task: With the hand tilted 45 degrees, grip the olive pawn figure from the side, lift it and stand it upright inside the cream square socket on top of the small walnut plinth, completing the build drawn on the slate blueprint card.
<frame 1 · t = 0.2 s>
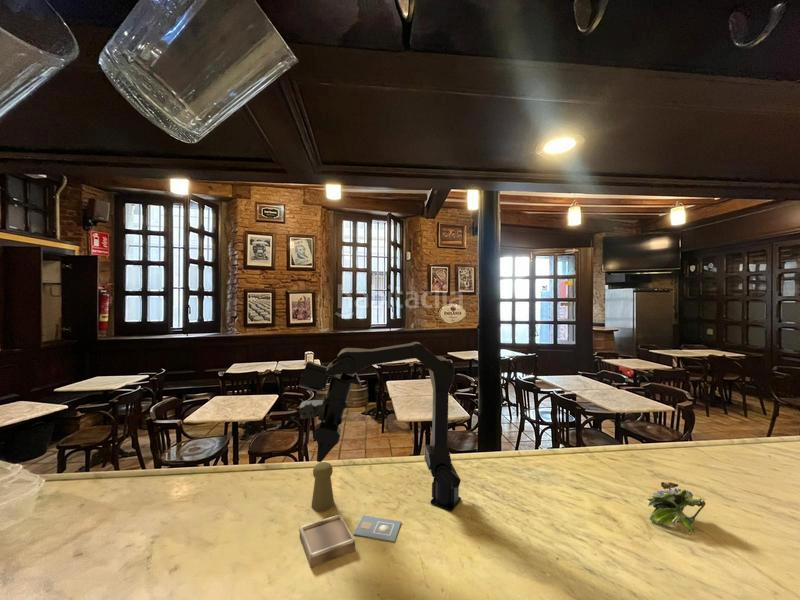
hand: (320, 452, 91), 15 cm above the countertop, tool tilted 15°, fingers open, 9 cm apart
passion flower: (676, 525, 87), on the countertop
walnut plinth: (326, 544, 80), on the countertop
blueprint card: (377, 528, 85), on the countertop
olive pawn figure: (322, 505, 94), on the countertop
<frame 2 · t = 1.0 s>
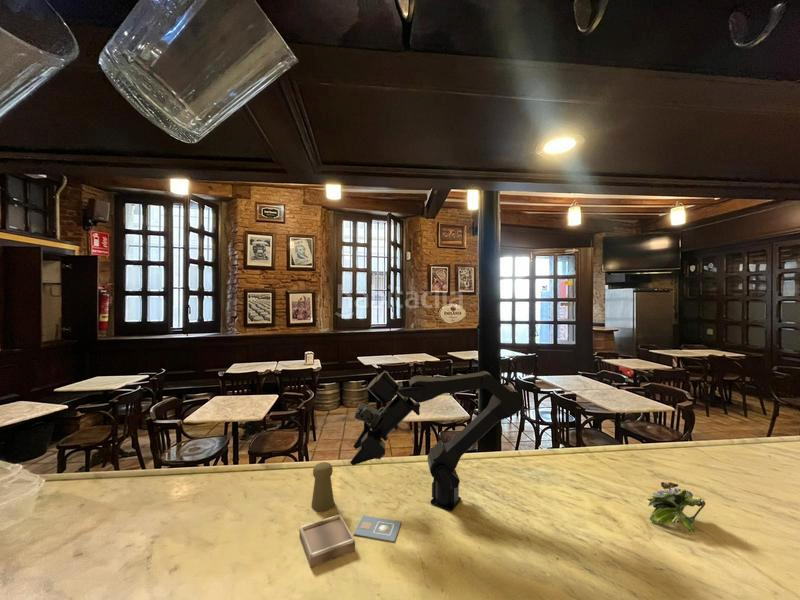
hand: (353, 455, 94), 13 cm above the countertop, tool tilted 45°, fingers open, 9 cm apart
nothing on the countertop moved.
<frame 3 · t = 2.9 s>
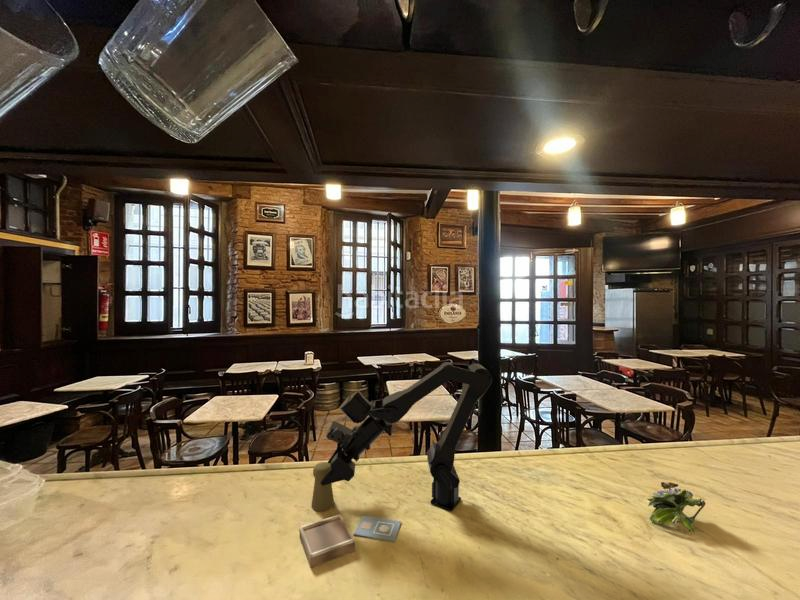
hand: (324, 474, 94), 8 cm above the countertop, tool tilted 45°, fingers open, 9 cm apart
nothing on the countertop moved.
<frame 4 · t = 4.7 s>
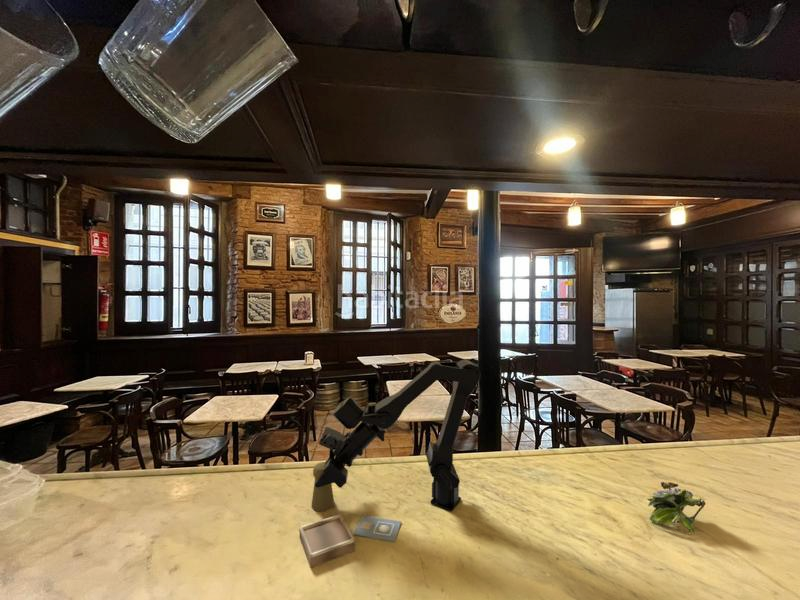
hand: (317, 480, 94), 7 cm above the countertop, tool tilted 45°, fingers closed on olive pawn figure, 5 cm apart
olive pawn figure: (322, 505, 94), on the countertop, touching gripper
everything else where it was.
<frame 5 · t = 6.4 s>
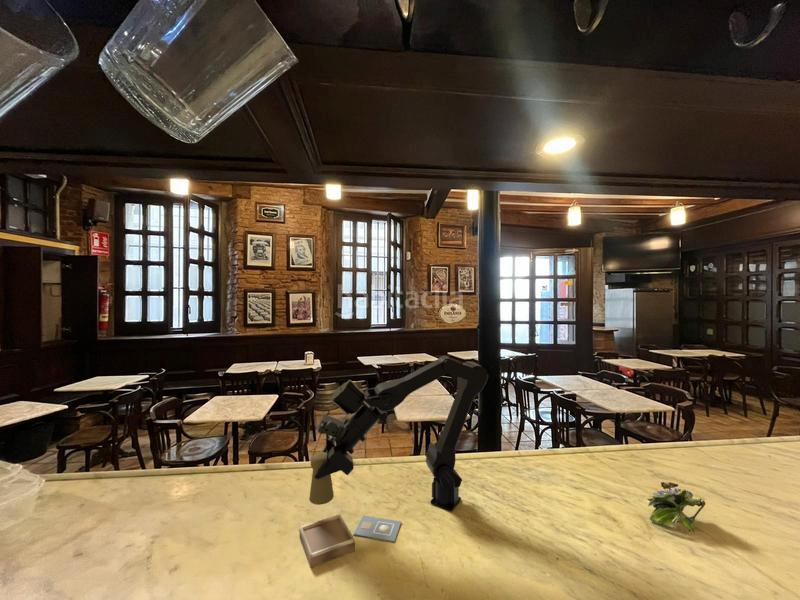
hand: (315, 472, 87), 12 cm above the countertop, tool tilted 45°, fingers closed on olive pawn figure, 5 cm apart
olive pawn figure: (321, 498, 88), point 5 cm above the countertop, touching gripper
everything else where it was.
when the fingers open (10 cm above the countertop, at t = 8.1 s): olive pawn figure drops 1 cm, resting on walnut plinth.
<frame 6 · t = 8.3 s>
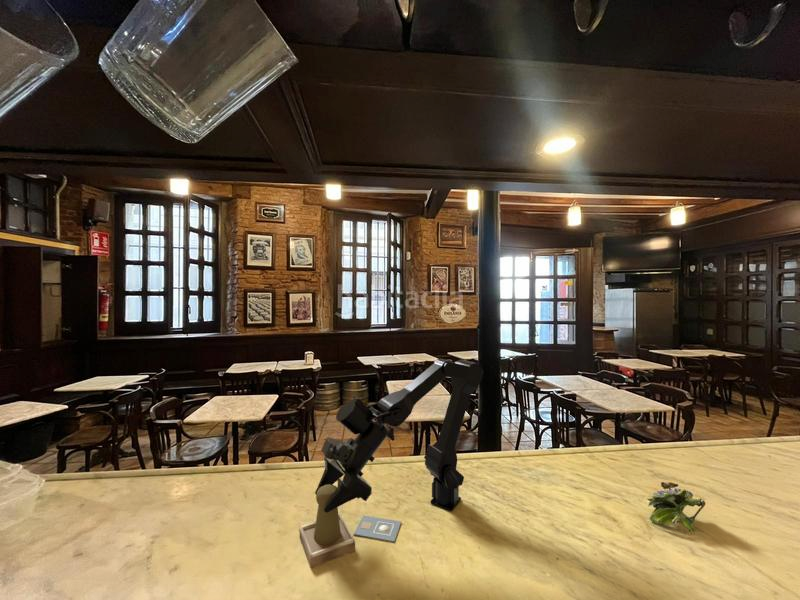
hand: (320, 502, 79), 10 cm above the countertop, tool tilted 45°, fingers open, 7 cm apart
olive pawn figure: (327, 535, 80), point 2 cm above the countertop, touching walnut plinth
everything else where it was.
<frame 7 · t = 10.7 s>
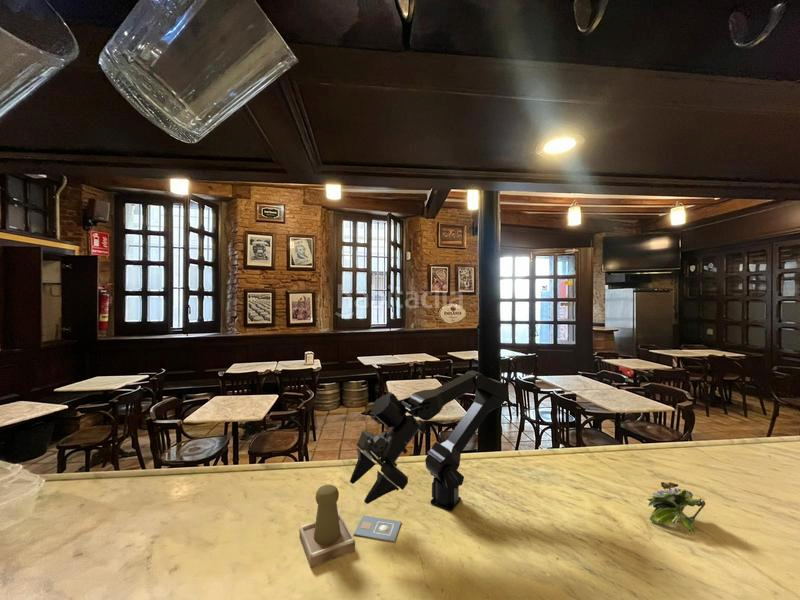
hand: (358, 492, 83), 10 cm above the countertop, tool tilted 45°, fingers open, 9 cm apart
nothing on the countertop moved.
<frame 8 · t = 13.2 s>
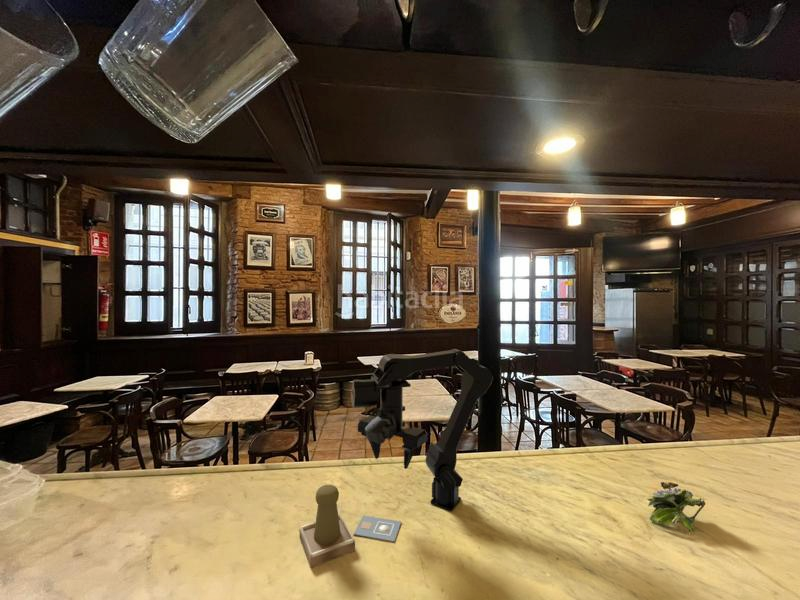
hand: (391, 463, 91), 13 cm above the countertop, tool pointing down, fingers open, 9 cm apart
nothing on the countertop moved.
at the end: olive pawn figure 0.2 cm off-centre on the walnut plinth, point 1.8 cm above the walnut plinth's base; olive pawn figure tilted 0°; the gripper is holding nothing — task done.
